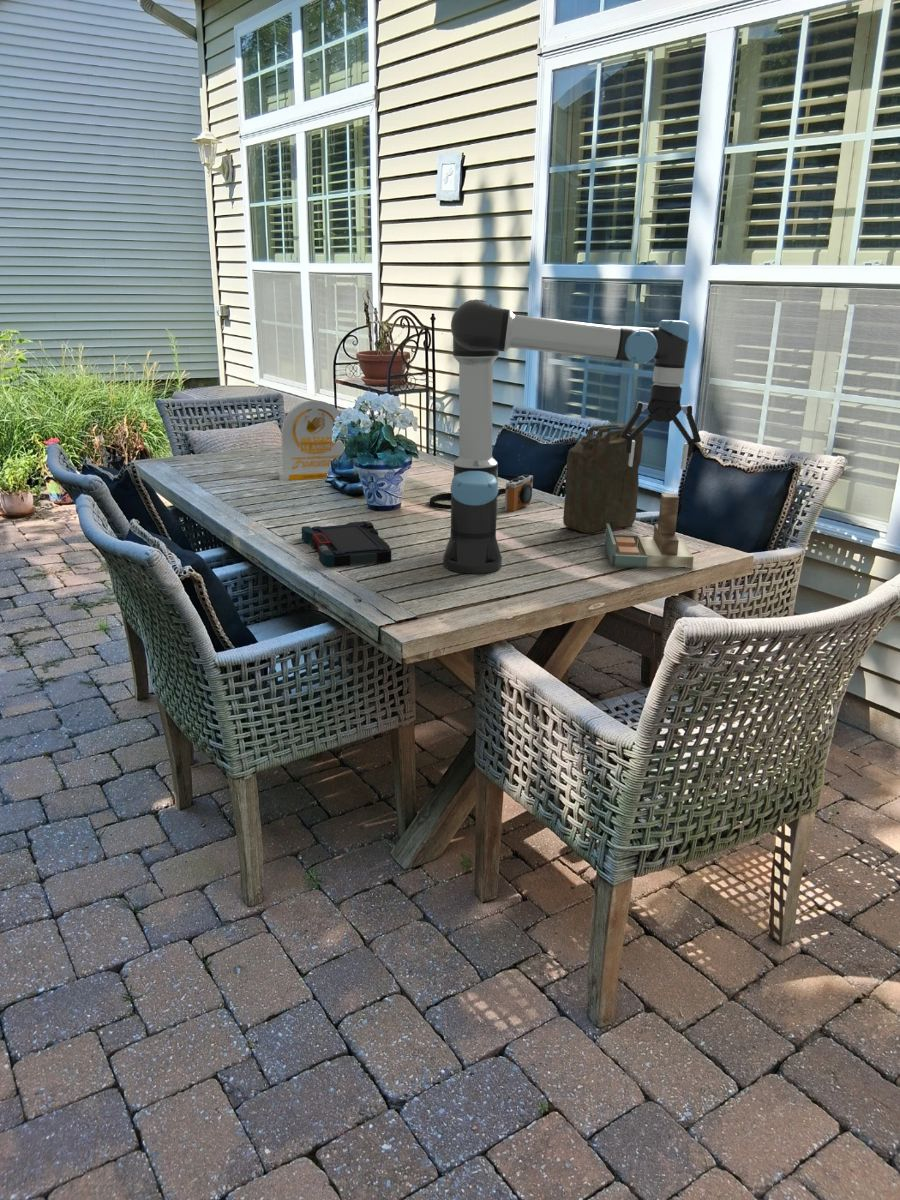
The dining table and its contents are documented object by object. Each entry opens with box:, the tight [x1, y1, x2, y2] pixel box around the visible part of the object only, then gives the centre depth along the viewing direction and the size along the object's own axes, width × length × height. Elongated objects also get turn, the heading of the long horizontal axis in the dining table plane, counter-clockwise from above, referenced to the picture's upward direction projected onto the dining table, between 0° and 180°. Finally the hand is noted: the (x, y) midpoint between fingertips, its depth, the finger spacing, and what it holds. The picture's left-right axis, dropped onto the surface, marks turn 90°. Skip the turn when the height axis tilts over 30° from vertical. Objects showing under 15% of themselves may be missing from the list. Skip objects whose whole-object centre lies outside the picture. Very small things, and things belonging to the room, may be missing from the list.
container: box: [562, 422, 644, 534], centre depth 263 cm, size 22×10×30 cm, turn 122°
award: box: [276, 399, 344, 481], centre depth 324 cm, size 28×9×28 cm, turn 108°
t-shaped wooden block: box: [652, 492, 680, 555], centre depth 236 cm, size 4×16×14 cm, turn 176°
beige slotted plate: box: [638, 536, 695, 569], centre depth 239 cm, size 12×18×3 cm, turn 175°
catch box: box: [604, 524, 648, 569], centre depth 239 cm, size 9×21×6 cm, turn 175°
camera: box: [428, 473, 534, 513], centre depth 293 cm, size 30×30×10 cm
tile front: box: [618, 546, 639, 556], centre depth 235 cm, size 5×5×2 cm
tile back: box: [615, 537, 635, 551], centre depth 244 cm, size 5×5×2 cm
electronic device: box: [301, 521, 392, 568], centre depth 242 cm, size 20×31×5 cm, turn 21°
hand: (656, 467), depth 232 cm, fingers open, 13 cm apart
